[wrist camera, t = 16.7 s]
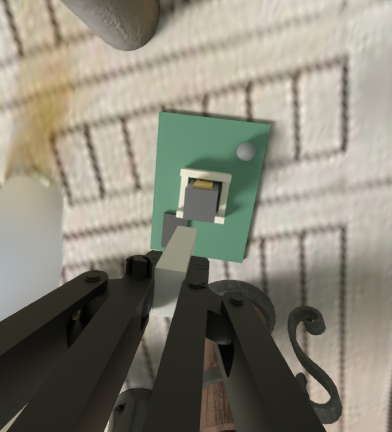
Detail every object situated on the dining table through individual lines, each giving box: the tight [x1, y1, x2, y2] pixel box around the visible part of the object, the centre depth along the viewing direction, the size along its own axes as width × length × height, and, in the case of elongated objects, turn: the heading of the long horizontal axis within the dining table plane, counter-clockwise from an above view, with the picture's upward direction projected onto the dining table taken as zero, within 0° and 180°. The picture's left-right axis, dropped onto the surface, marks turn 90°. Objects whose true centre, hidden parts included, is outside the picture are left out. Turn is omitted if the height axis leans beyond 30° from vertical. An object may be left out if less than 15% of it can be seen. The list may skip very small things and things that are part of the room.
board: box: [150, 112, 271, 263], centre depth 34 cm, size 22×16×4 cm
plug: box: [183, 179, 218, 223], centre depth 31 cm, size 4×4×8 cm
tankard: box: [200, 280, 342, 432], centre depth 32 cm, size 24×17×20 cm
